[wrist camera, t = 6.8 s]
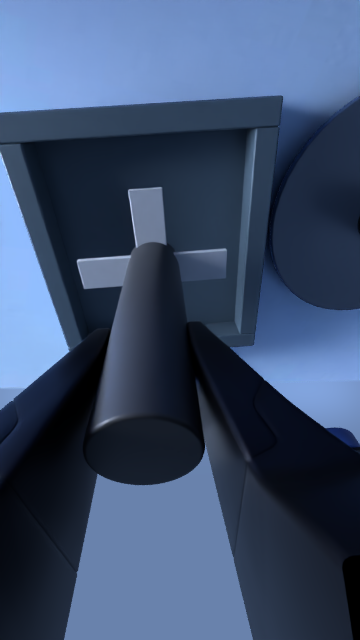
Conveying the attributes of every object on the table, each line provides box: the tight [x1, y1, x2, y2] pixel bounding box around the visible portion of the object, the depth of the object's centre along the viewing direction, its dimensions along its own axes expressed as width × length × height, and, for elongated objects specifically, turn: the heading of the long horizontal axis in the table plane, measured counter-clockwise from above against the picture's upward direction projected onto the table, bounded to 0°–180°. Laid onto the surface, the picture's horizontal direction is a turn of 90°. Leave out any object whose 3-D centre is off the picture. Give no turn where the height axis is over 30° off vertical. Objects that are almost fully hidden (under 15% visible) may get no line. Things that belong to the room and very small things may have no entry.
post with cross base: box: [77, 187, 227, 485], centre depth 10 cm, size 7×7×10 cm
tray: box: [0, 96, 283, 351], centre depth 15 cm, size 12×12×2 cm
